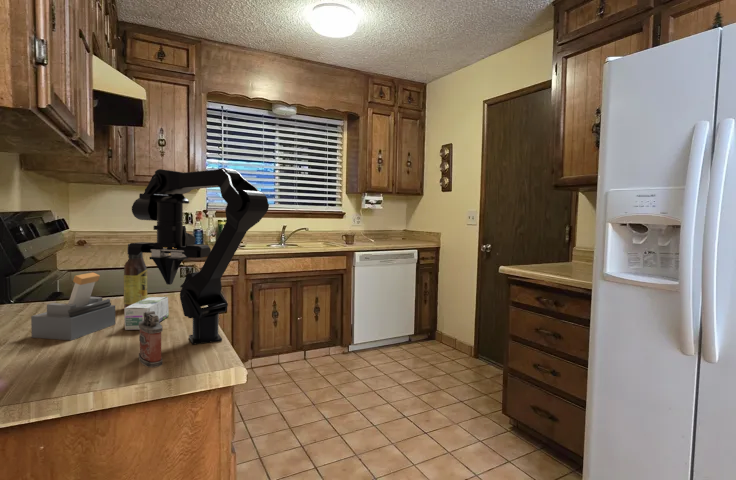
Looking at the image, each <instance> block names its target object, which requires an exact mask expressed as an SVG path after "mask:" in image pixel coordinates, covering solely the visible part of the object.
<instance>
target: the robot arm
mask: <svg viewBox="0 0 736 480" xmlns="http://www.w3.org/2000/svg"><path fill="white" fill-rule="evenodd" d="M212 188H213V189H214V188H219V189H220V195H221V198H222V199H223V200H224V202H225V203H226V207H225V210H224V211H225V218H226V221H225V224H224V225H223V228H222V229H221V231H220V233H219V235H218V237H217V239H216V240H215V242H214V244H213V245H212V248H210V246H209V245H208V244H195V243H196V237H195V236H194V235H193V234H191V233H188V232H187V228H186V225H184V224H183V221H184V219H183V217H184V214H183V212H184V211H183V210H184V209H183V208H184V204H187V205H188V204H190V200H189V199H188V198H186V197H185V195H184V194H188V193H190V192H191V191H192V190H195V189H212ZM138 195H139V197H138V198H137V199H135V200H134V201H133V203H132V206H131V213H132V215H133V216H134V217H135V219H137V220H141V221H153V222H154V221H155V222H156V225H153V231H156V242H155V241H154V242H152V241H151V242H148V241H139V242H138V241H137V242H130V243H129V244H130V245H129V246H128V245H127V255H128V256H129V255H140V254H141V253H146V254H147V253H148V254H151V256H149V260H152V261H153V263H154V264H155V266H156V267H157V268H158V270H159V272H160V274H161V276H162V278H163V280H164V282H165V283H166V285H173V283H174V280H175V278H176V274H177V272H178V270H179V268H180V266H181V264H182V263H183V262H184V260H186V259H190V258H192V259H194V258H195V259H203V258H206V257H207V258H206V259H205V261H204V263H203V265H202V267H201V269H200V270H199V271H194V272H189V273H188V274H187V275H186V276H185V277H184V278H185V279H184V282H183V283H182V284H181V285H180V286H179V287H180V288H181V289H180V293H179V298H180V304H181V308H182V312H183V315H184V316H185V317H186V318H188V319H192V334H189V335H188V338H189V340H190V342H191V344H192V345H198V344H207V343H216V342H222V341H223V338H222V337H221V335H220V333H219V316H220V315H219V313H224V312H227V309H228V305H229V304H228V302H227V300H226V299H225V297H224V296H223V294H222V293H221V292H222V289H223V287H222V286H223V285H222V277H223V275H224V274H225V272H226V269H227V268H228V266H229V265H230V263H231V261H232V260H233V258H234V256H235V254H236V252H237V250H238V248H239V246H240V245H241V243H242V241H243V240H244V237H245V236H246V234H247V232H248V231H249V230H250V229H252V227H254V226H256V225H257V224H258V223H260V221H262V219H263V218H264V216H265V215H266V214H267V212H268V210H269V208H270V207H269V206H270V204H269V201H268V197H267V195H266V194H265V193H264V192H261V191H260V190H259V189H258V188H257V187H256V186H255V185H254V184H252V183H251V182H250V181H248V180H247V179H246V178H244V176H243V175H242V174H241V173H240V172H239V171H237V170H236V169H232V168H225V167H224V168H223V167H220V168H217V169H211V170H210V169H208V170H199V171H187V172H184V171H176V170H170V169H169V170H168V169H163V168H162V169H161V168H159V169H156V170H155V171H154V174H153V175H152V177H151V179H150V181H149V182H148V184H147V186H146V188H145V189H144V191H143V193H139V194H138Z"/></svg>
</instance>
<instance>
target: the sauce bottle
mask: <svg viewBox="0 0 736 480" xmlns="http://www.w3.org/2000/svg"><path fill="white" fill-rule="evenodd" d="M129 245H130V243H128V244H127V247H128V246H129ZM143 257H144V256H143V253H141V254H140V255H128V256H127V258H128V259H127V260H126V262H125V264H124V268H123V304H124V306H123V308H126V307H128V306H130V305H132V304H134V303H136V302H138V301H141V300H143V299H145V298H147V297H148V268H147V265H146V263H145V261H144V258H143Z"/></svg>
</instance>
